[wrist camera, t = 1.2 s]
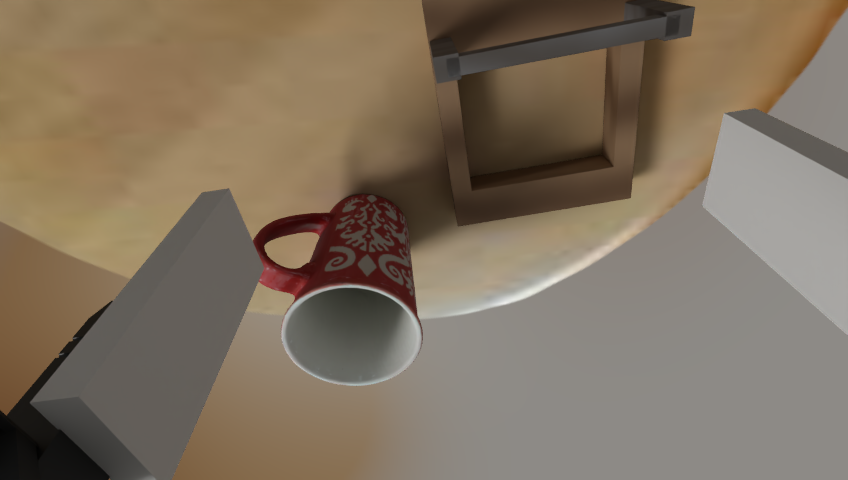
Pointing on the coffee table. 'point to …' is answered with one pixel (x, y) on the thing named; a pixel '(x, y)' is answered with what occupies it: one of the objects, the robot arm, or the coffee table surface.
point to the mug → (348, 292)
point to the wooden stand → (533, 41)
